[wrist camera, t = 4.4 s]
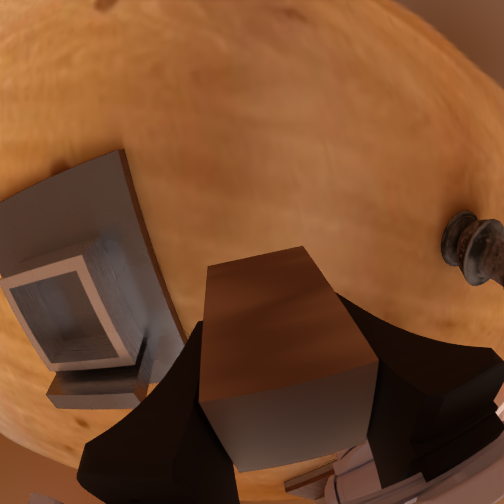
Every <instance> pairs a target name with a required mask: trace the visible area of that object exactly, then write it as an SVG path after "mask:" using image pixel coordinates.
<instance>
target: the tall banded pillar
mask: <svg viewBox="0 0 504 504" xmlns="http://www.w3.org/2000/svg"><path fill="white" fill-rule="evenodd" d="M337 461H338V460H336V461H334V462H332V463H330V464H327V465H325V466H323V467H321V468H319V469H316V470H314V471H312V472H309V473H307V474H304V475H302V476H299V477H297V478H294V479H292V480H289V481H286V482H284V486H285V491H286V493H288V494H292V495H296V496H299V497H303V498H307V499H311V500H315V503H316V504H326V501H325V486H326V484H327V481H328V478H329V477H330V476H331V475H334V474H335V471H334V468H333V465H332V464H333V463H335V462H337Z"/></svg>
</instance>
